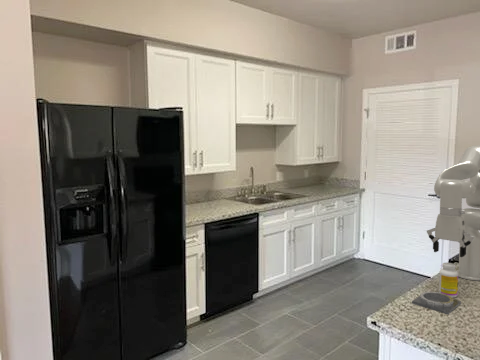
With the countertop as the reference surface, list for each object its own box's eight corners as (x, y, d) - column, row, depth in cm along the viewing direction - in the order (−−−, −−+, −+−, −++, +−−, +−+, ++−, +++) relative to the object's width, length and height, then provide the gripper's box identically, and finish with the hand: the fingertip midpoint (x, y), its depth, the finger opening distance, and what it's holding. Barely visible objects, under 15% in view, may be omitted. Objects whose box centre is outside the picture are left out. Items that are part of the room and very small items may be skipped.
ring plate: (426, 294, 150) (426, 288, 150) (461, 303, 141) (461, 297, 140) (411, 303, 142) (412, 297, 142) (448, 314, 132) (448, 307, 132)
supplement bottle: (460, 298, 145) (461, 267, 144) (442, 297, 147) (442, 266, 145) (454, 292, 152) (454, 262, 151) (436, 291, 153) (437, 261, 152)
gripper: (478, 213, 142) (476, 256, 143) (431, 208, 155) (430, 248, 156) (471, 215, 137) (469, 260, 138) (424, 210, 150) (422, 251, 151)
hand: (448, 254), depth 147 cm, fingers open, 9 cm apart
